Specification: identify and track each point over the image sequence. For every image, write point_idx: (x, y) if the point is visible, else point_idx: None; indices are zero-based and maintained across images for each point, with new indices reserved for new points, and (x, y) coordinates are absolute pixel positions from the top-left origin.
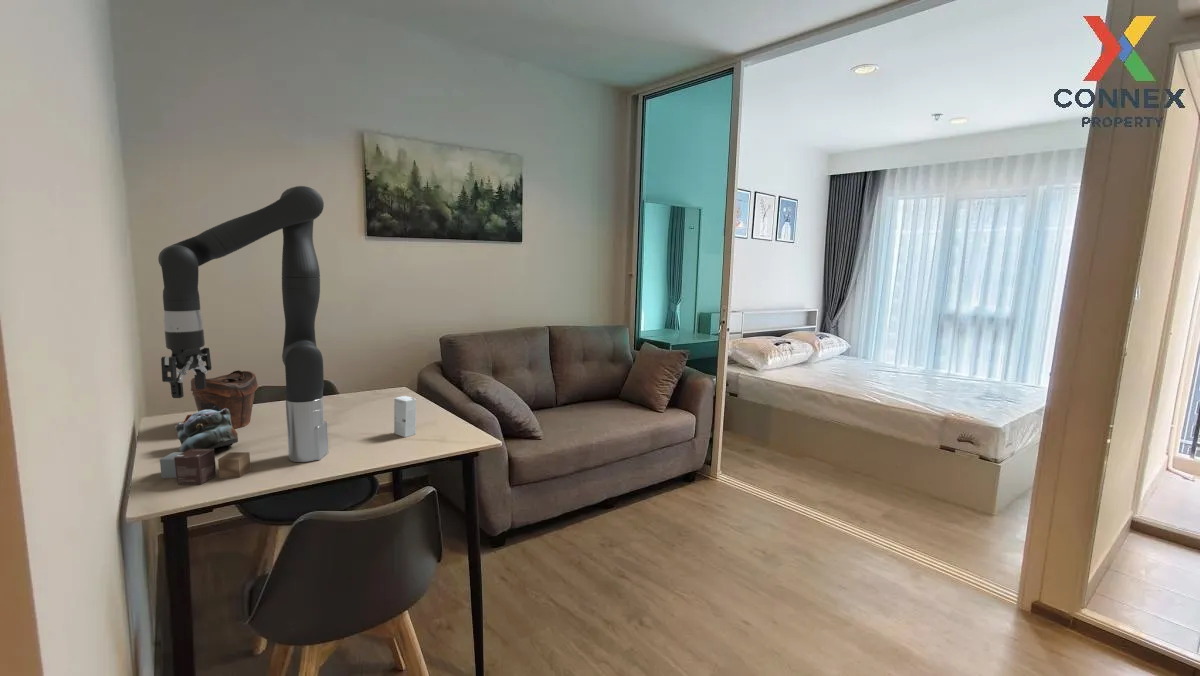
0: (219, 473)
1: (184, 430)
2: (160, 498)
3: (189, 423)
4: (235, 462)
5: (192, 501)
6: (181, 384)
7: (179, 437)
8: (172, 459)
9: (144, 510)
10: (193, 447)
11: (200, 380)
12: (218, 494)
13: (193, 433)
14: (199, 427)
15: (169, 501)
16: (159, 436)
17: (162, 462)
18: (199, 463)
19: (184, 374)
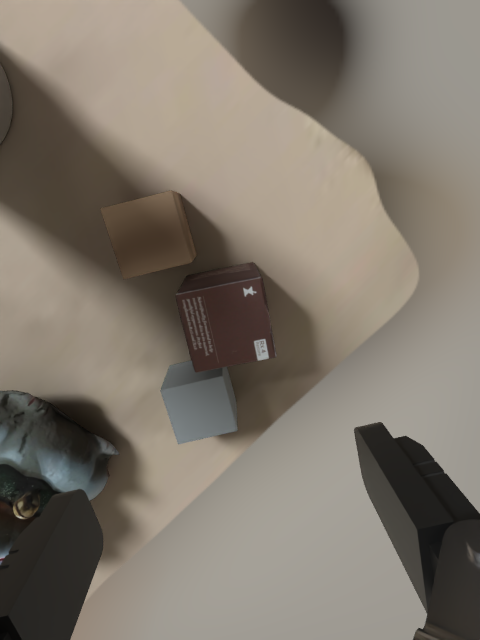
0: (195, 255)
1: None
2: (349, 291)
3: None
4: (176, 202)
5: (354, 190)
6: (423, 509)
7: None
8: (228, 398)
9: (417, 266)
10: (93, 453)
11: (56, 579)
12: (301, 154)
13: None
14: (33, 499)
15: (362, 252)
16: None
17: (235, 419)
18: (257, 272)
19: (436, 635)
